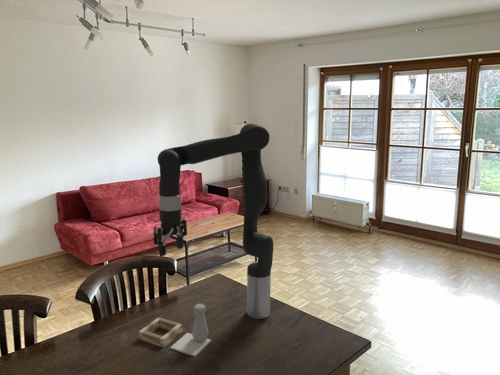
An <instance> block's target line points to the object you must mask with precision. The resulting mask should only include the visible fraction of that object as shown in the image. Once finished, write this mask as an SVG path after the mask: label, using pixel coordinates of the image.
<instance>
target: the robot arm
mask: <svg viewBox="0 0 500 375" xmlns="http://www.w3.org/2000/svg"><path fill="white" fill-rule="evenodd" d="M270 138H271V137H270V133H269V131H268V130H267V128H265V127H264V126H262V125H260V124H255V123H246V124H245V125H244V126H242V127H241V129H240V131H239V132H238V133H237V134H233V135H229V136H224V137H217V138H211V139H205V140H199V141H196V142H193V143H190V144H186V145H183V146H182V145H180V146H175V147H169V148H165V149H163V150H161V151H160V152H159V153H158V156H157V163H158V165H159V178H160V179H159V182H158V184H159V185H158V186H159V188H158V191H159V196H158V197H159V198H158V210H159V211H158V212H159V214H158V215H159V221H160V223H161V224H160V227H156V226H155V227H154V228H153V244H154V245H156V246H158V253H159V255H160V256H161V257H162V256H163V257H165V256H166V255H167V254H166V253H167V249H166V244H167V242H168V240H169V239H170V238H171V237H172V236H176V248H177V249H180V250H181V249H183V247H184V240H183V239H185V236H187V235H188V225H187V220H186V219H183V218H182V198H181V183H180V177H181V167H182V166H185V165H194V164H195V165H196V164H199V163H203V162H206V161H210V160H213V159H217V158H220V157H224V156H229V155H233V154H238V153H241V162H242V200H243V201H242V202H243V203H242V204H243V228H242V229H243V231H242V232H243V233H242V235H243V236H242V249H243V251H244V253H245V255H248V256H250V257H255V258H257V261H256V262H252V263H250V264H248V265H247V270H246V271H247V274H246V282H247V283H246V286H247V290H246V295H247V296H246V302H247V303H246V314H247V316H248V317H249V318H252V319H256V320H261V319H266V318H268V317H269V316H270V314H271V279H272V278H271V273H272V272H271V271H272V267H273V257H274V240H273V237H272V236H271V235H268V234H264V233H260V232H258V222H259V221H258V220H259V217H260V215H261V214H262V212H263V211H264V209H265V207H266V206H267V203H268V184H267V183H268V182H267V177H266V174H265V171H264V167H263V164H262V150H263V149H265V148H266V147H267V145H268V144H269V143H270Z"/></svg>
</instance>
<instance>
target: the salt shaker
mask: <svg viewBox="0 0 500 375" xmlns="http://www.w3.org/2000/svg"><path fill="white" fill-rule="evenodd" d="M206 310H207V309H206V305H205V304H203V303H197V304H195V305H194V306H193V307H192V311H193V313H194V318H193V326H192V329H191V330H192V331H191V334H192V336H193V338H194V340H195V341H196V342H199V343H200V342H204V341H205V340H206V338H207V339H208V337H209V329H208V328H209V327H208V324H207V318H206V315H205V314H206V313H205V312H206Z"/></svg>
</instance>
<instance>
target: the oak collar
mask: <svg viewBox="0 0 500 375" xmlns="http://www.w3.org/2000/svg"><path fill="white" fill-rule="evenodd" d="M159 328H160V329H163V330H167V331H168V332H166V333H165V334H164V335H159V334H156V333H154V332H155V331H156V330H158V329H159ZM183 329H184V328H183V324H182V323H180V322H176V321H172V320H169V319H166V318H162V317H159V316H158V317H157V318H155V319H154V320H153V321H151V322H150V323H149V324H147V325H146V326H145V327H143V328H141V329H140V330H139V331H138V340H140V341H143V342H146V343H148V344H152V345H153V346H158V347H161V348H165V347H167V345H169V344H170V343H171V342H172V341H174V339H176V338H177V337H178V336H180V335H181V333H183V331H184V330H183Z"/></svg>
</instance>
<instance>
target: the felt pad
mask: <svg viewBox="0 0 500 375" xmlns="http://www.w3.org/2000/svg"><path fill="white" fill-rule="evenodd" d="M211 342H212V339H210V338H208V337H207V338H206V340H205V341H204V342H200V343H199V342H196V341H195V340H194V338H193V336H192V332H191V333H190V332H186V333H185V334H184V335H182V337H180V339H179V340H177V341H176V342H175V343H174V344H172V345H171V346H170V349H171V350H174V351H176V352H179V353H183V354H186V355H189V356H192V357H197V356H198V355H199V354H200V353H201V352H202V351H203V350H204V349H205V348H206V346H208V345H209V343H211Z"/></svg>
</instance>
